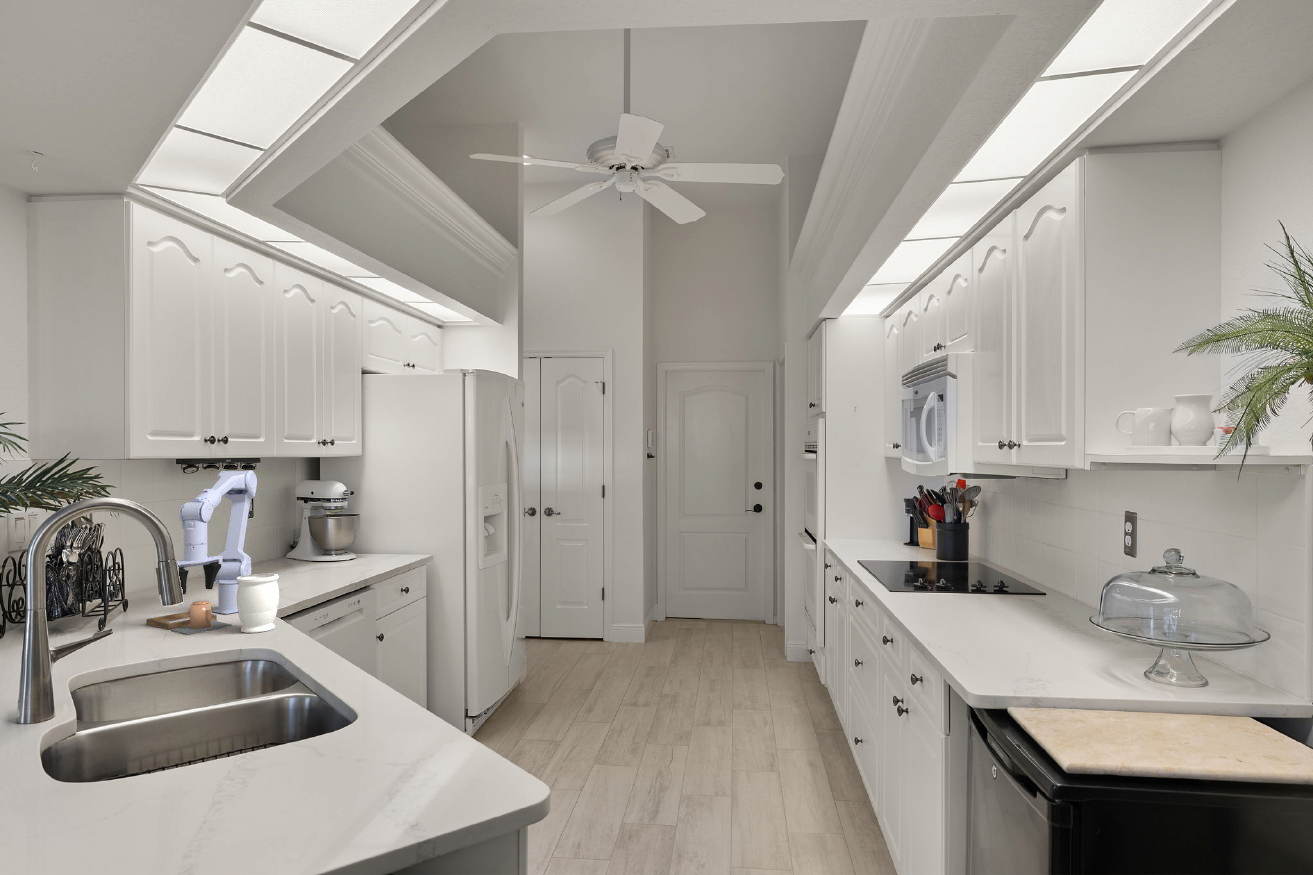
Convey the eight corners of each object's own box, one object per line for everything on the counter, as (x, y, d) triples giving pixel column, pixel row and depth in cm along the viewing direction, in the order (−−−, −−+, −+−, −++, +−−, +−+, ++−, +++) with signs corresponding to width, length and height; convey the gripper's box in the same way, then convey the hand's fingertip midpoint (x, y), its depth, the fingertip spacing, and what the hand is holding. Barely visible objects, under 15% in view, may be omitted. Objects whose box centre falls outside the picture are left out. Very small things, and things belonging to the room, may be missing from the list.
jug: (185, 628, 207) (185, 603, 207) (202, 624, 212) (202, 599, 212) (202, 629, 205) (201, 604, 205) (217, 625, 210) (217, 601, 210)
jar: (227, 633, 203) (227, 578, 203) (257, 624, 213) (257, 572, 213) (258, 635, 200) (258, 579, 200) (287, 626, 210) (287, 573, 210)
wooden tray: (193, 615, 225) (193, 610, 225) (216, 620, 219) (216, 615, 219) (146, 624, 214) (146, 618, 214) (168, 629, 208) (168, 624, 208)
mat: (215, 622, 216) (215, 620, 216) (231, 625, 212) (231, 624, 212) (170, 631, 206) (170, 629, 206) (187, 634, 201) (187, 633, 201)
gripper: (211, 540, 220) (211, 585, 220) (161, 546, 207) (161, 595, 207) (226, 541, 217) (227, 587, 217) (176, 547, 204) (176, 597, 204)
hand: (195, 591), depth 212 cm, fingers open, 7 cm apart
